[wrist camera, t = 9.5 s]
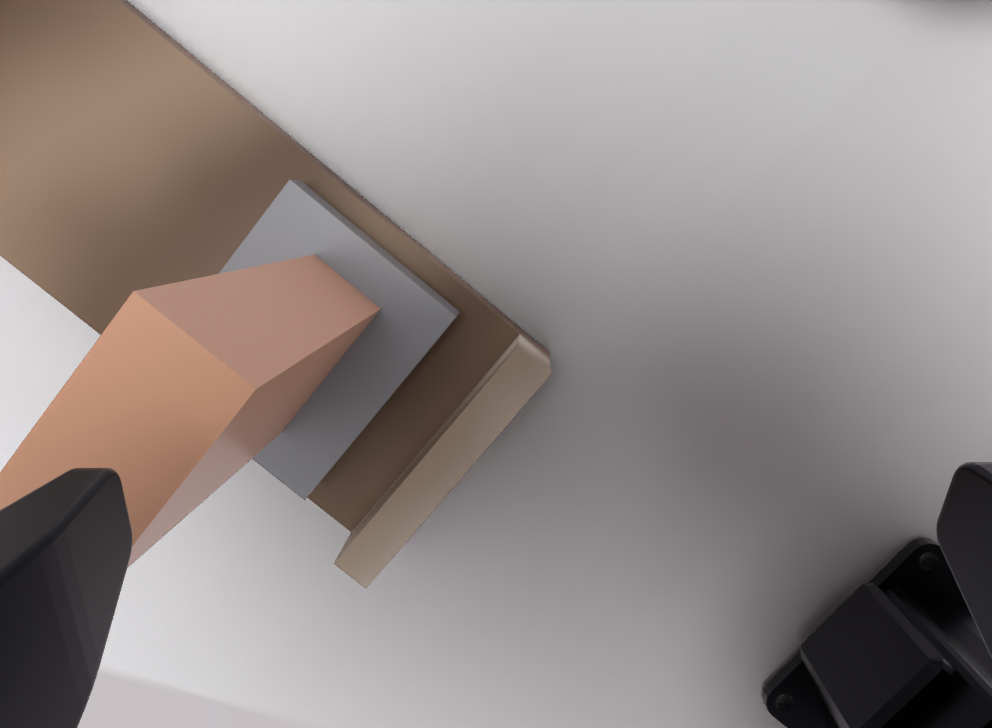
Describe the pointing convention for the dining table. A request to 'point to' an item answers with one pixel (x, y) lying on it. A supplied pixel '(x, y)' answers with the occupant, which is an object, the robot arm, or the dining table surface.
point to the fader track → (224, 239)
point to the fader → (239, 369)
